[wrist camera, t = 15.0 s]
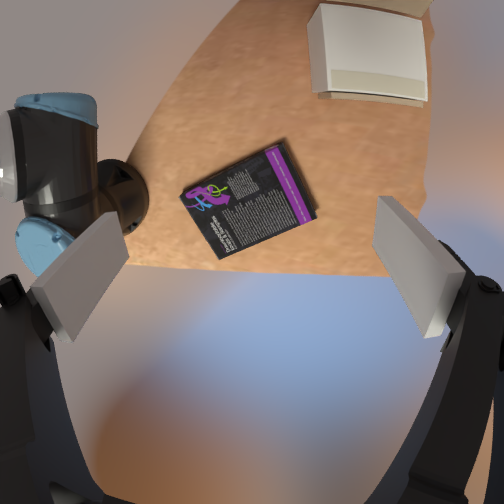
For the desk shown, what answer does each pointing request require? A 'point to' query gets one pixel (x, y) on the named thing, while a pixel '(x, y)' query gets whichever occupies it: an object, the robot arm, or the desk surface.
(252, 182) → the box
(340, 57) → the carton
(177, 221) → the desk surface
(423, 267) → the robot arm
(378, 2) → the flap
